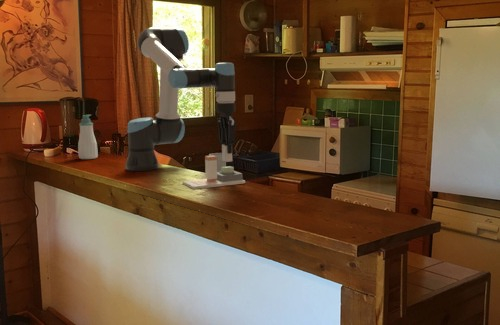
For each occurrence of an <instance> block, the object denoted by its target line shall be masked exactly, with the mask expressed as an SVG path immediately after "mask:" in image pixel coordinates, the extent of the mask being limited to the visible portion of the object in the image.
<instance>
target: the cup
mask: <svg viewBox="0 0 500 325" xmlns="http://www.w3.org/2000/svg"><path fill="white" fill-rule="evenodd" d="M212 155H213V156H216V157H217V172H221V167H226V166H227V162H225V161H222V152H215V153H209V154H208V156H212Z"/></svg>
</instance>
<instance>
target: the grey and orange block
mask: <svg viewBox="0 0 500 325" xmlns="http://www.w3.org/2000/svg"><path fill="white" fill-rule="evenodd" d="M204 164H205V165H204V166H205V167H204V168H205V179H207V181H208V182H215V181H216V179H217V157H216V156H213V155H212V156H209V155H204Z"/></svg>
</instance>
